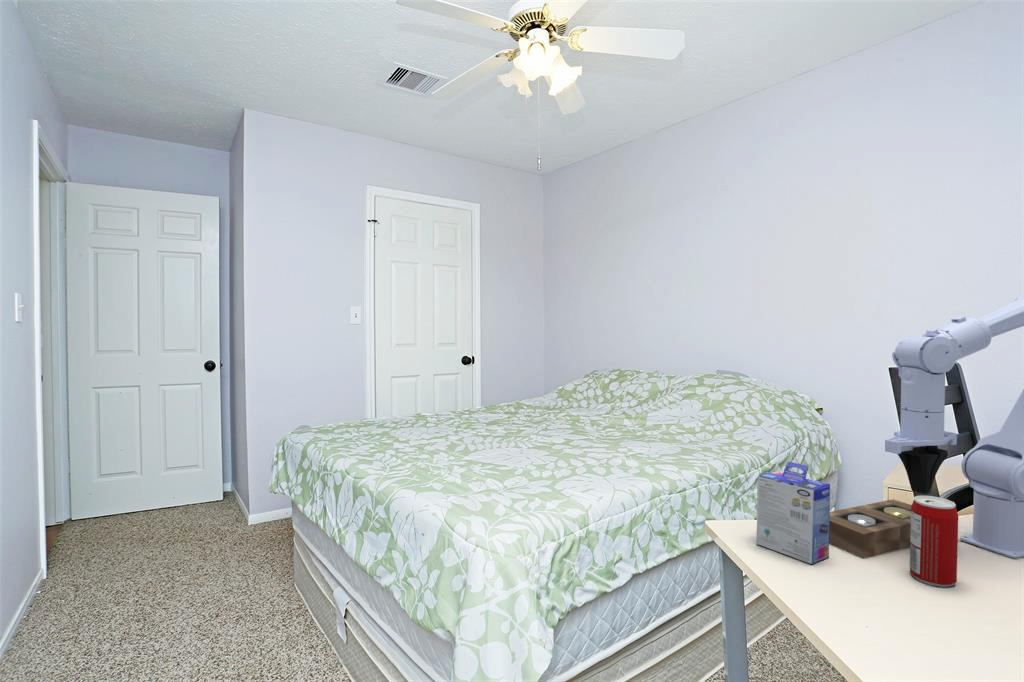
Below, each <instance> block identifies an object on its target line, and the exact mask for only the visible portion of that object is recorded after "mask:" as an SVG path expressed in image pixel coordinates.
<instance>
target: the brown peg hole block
mask: <svg viewBox="0 0 1024 682" xmlns="http://www.w3.org/2000/svg"><path fill="white" fill-rule="evenodd" d="M911 506H912V504H910V503H906V502H905V501H904V502H903V501H900V500H897V499H894V498H893V499H886V500H883V501H877V502H872V503H868V504H863V505H857V506H853V507H852V506H851V507H847V508H844V509H838V510H833V511H830V513H829V543H831V544H830V545H832V544H833V545H832V546H834V547H837V548H839V549H841V550H843V551H846V552H848V553H850V554H852V553H853V555H855V556H857V557H859V558H861V559H866V558H870V557H874V556H879V555H883V554H887V553H890V552H895V551H898V550H903V549H907V548H910V536H911V516H910V517H905V518H900V517H897V516H894V515H891V514H888V513H885V512H884V508H886V507H896V508H902V509H905V510H908V511H910V512H911ZM852 514H858V515H865V516H868V517H871V518H873V519H875V524H873V525H869V526H863V525H860V524H858V523H855V522H852V521H850V520H848V516H849V515H852Z"/></svg>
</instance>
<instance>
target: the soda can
mask: <svg viewBox="0 0 1024 682" xmlns="http://www.w3.org/2000/svg"><path fill="white" fill-rule="evenodd" d="M911 505H912V506H911V536H910V547H909V548H910V549H909V572H910V573H911V575H912V576H913V577H914V578H915V579H916V580H917V581H919V582H921V583H924V584H927V585H930V586H934V587H942V588H949V587H952V586H953V585H954V584H956V583H957V579H958V578H957V577H958V549H959V548H958V544H959V514H958V510H957V505H956V503H955V502H954V501H951V500H949V499H947V498H943V497H939V496H934V495H916V496H914V497H913V501H912V503H911Z"/></svg>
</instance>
